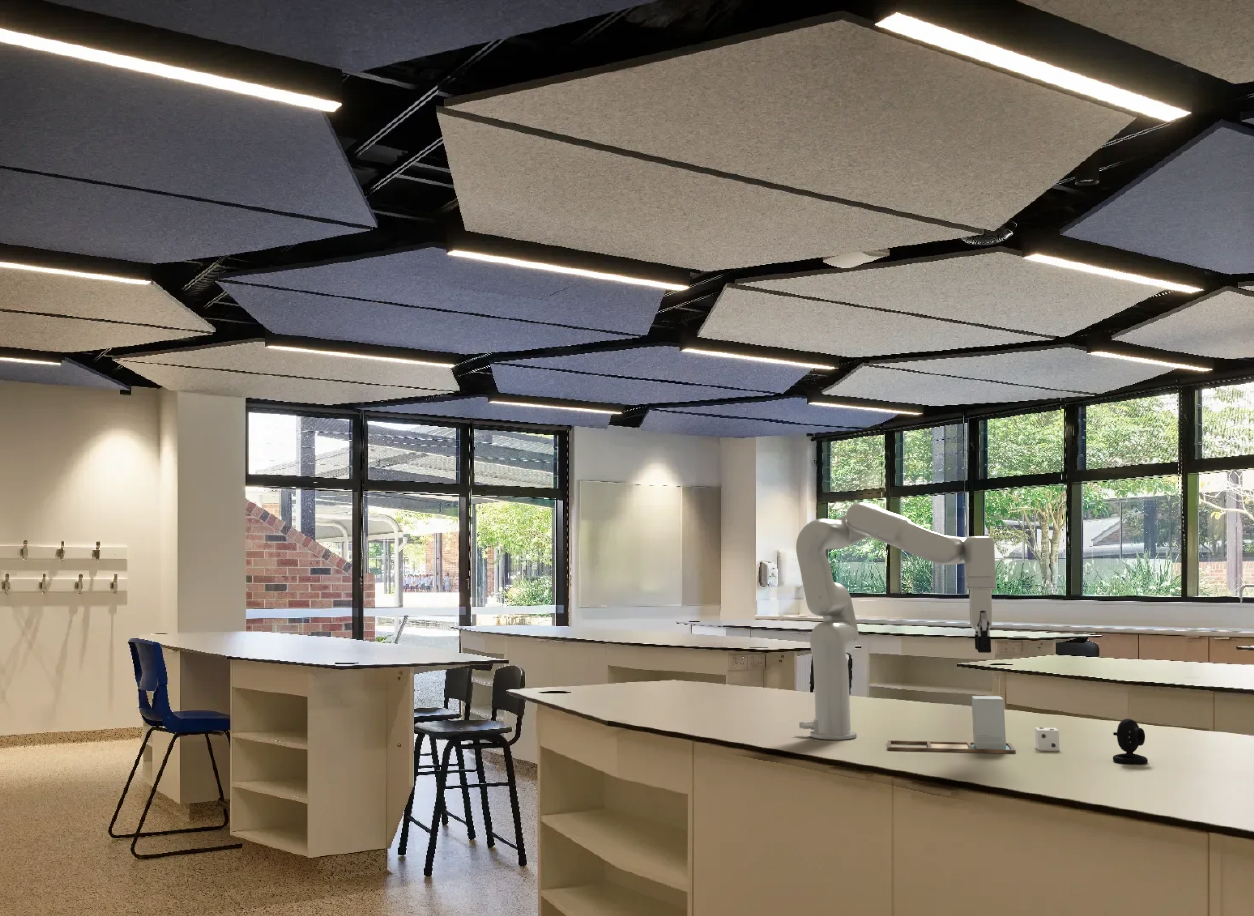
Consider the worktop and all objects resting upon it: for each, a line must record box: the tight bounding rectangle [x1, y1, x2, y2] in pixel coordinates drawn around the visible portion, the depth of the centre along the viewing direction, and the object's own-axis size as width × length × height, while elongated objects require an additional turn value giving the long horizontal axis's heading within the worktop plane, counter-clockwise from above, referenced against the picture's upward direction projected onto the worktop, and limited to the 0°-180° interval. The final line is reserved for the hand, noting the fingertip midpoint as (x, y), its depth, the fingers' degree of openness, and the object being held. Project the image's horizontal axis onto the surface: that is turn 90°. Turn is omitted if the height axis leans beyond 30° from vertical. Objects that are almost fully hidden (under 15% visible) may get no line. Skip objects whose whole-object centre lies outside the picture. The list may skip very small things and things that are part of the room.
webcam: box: [1112, 718, 1149, 766], centre depth 255 cm, size 8×8×10 cm
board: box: [887, 739, 1017, 755], centre depth 277 cm, size 31×12×1 cm, turn 77°
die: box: [1034, 726, 1061, 752], centre depth 275 cm, size 5×5×5 cm
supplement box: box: [971, 695, 1007, 750], centre depth 276 cm, size 7×7×13 cm
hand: (983, 651), depth 279 cm, fingers open, 9 cm apart
